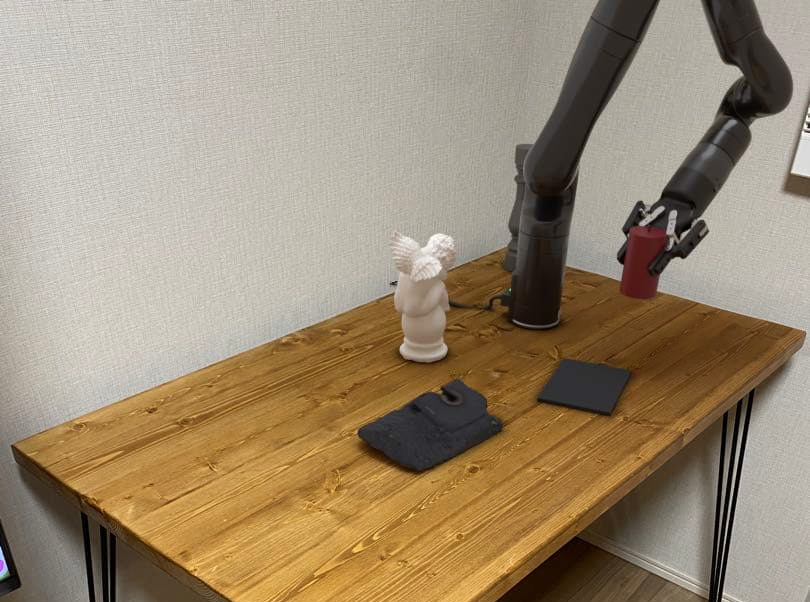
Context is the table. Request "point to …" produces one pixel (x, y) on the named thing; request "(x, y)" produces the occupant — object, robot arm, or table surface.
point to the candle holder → (516, 207)
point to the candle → (641, 262)
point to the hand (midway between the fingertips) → (635, 267)
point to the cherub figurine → (422, 294)
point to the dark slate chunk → (433, 427)
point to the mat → (585, 386)
